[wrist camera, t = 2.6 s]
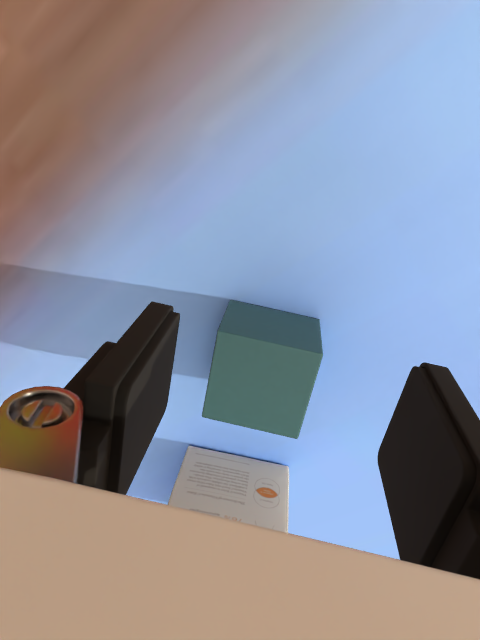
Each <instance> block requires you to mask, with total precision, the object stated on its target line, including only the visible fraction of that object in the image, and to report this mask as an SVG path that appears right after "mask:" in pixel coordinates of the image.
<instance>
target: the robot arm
mask: <svg viewBox="0 0 480 640" xmlns="http://www.w3.org/2000/svg"><path fill="white" fill-rule="evenodd" d="M179 320H180V313H176V312H173V306H170V305H165V304H161V303H156V302H151V303H150V304H149V305H148V306H147V307H146V309H145V310H144V311H143V312H142V313H141V315H140V316H139V317H138V318H137V319H136V320H135V322H134V323H133V324H132V325H131V326H130V328H129V329H128V330H127V331H126V332H125V334H124V335H123V336H122V337H121V338H120V339H119V341H118V342H117V343H113V342H105V343H104V344H103V345H102V346H101V347H100V348H99V350H98V351H97V352H96V353H95V354H94V355H93V356H92V357H91V358H90V360H89V361H88V362H87V363H86V364H85V365H84V366H83V367H82V368H81V370H80V371H79V372H78V373H77V374H76V375H75V376H74V377H73V378H72V380H71V381H70V382H69V383H68V384H67V385H66V386H65V387H64V388H60V387H50V386H43V387H33V388H29V389H25V390H22V391H20V392H17V393H15V394H13V395H11V396H10V397H9V398H8V399H6V400H5V401H4V402H3V404H2V405H1V407H0V640H480V420H479V418H478V416H477V415H476V413H475V412H474V410H473V408H472V407H471V405H470V403H469V402H468V400H467V398H466V397H465V395H464V394H463V392H462V390H461V389H460V387H459V385H458V384H457V382H456V381H455V379H454V377H453V376H452V374H451V372H450V371H449V369H448V368H447V367H442V366H438V365H434V364H429V363H422V364H421V365H420V366H419V367H417V366H414V367H413V368H412V369H411V371H410V374H409V376H408V379H407V381H406V384H405V386H404V389H403V391H402V394H401V396H400V399H399V401H398V403H397V406H396V408H395V411H394V413H393V416H392V418H391V421H390V423H389V426H388V428H387V431H386V433H385V436H384V438H383V441H382V443H381V446H380V448H379V452H378V466H379V470H380V474H381V478H382V483H383V487H384V491H385V496H386V500H387V504H388V509H389V513H390V517H391V521H392V526H393V530H394V534H395V539H396V543H397V547H398V552H399V556H400V560H398V559H394V558H390V557H386V556H381V555H377V554H373V553H369V552H365V551H361V550H357V549H352V548H348V547H344V546H340V545H336V544H332V543H327V542H323V541H319V540H315V539H311V538H306V537H302V536H298V535H294V534H289V533H285V532H281V531H277V530H273V529H268V528H264V527H260V526H256V525H251V524H247V523H243V522H239V521H235V520H230V519H226V518H222V517H218V516H213V515H209V514H205V513H201V512H196V511H192V510H188V509H184V508H179V507H175V506H171V505H166V504H162V503H157V502H153V501H149V500H144V499H140V498H136V497H131V496H127V495H126V493H127V491H128V489H129V487H130V485H131V483H132V481H133V478H134V476H135V474H136V472H137V470H138V468H139V466H140V464H141V461H142V459H143V457H144V455H145V453H146V451H147V449H148V447H149V444H150V442H151V440H152V438H153V436H154V434H155V432H156V430H157V427H158V425H159V423H160V421H161V419H162V417H163V415H164V412H165V410H166V406H167V402H168V396H169V389H170V382H171V375H172V369H173V362H174V355H175V348H176V341H177V334H178V327H179Z"/></svg>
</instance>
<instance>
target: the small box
mask: <svg viewBox="0 0 480 640" xmlns="http://www.w3.org/2000/svg"><path fill="white" fill-rule="evenodd" d="M288 500H289V468H288V466H284V465H279V464H274V463H269V462H265V461H260V460H255V459H251V458H246V457H241V456H236V455H232V454H227V453H222V452H217V451H212V450H208V449H203V448H198V447H193V446H188V448H187V451H186V454H185V456H184V459H183V462H182V465H181V468H180V471H179V473H178V476H177V479H176V482H175V485H174V487H173V490H172V493H171V496H170V499H169V502H168V505H171V506H175V507H179V508H184V509H188V510H192V511H196V512H201V513H205V514H209V515H213V516H218V517H222V518H226V519H230V520H235V521H239V522H243V523H247V524H251V525H256V526H260V527H264V528H268V529H273V530H277V531H281V532H285V533H288Z"/></svg>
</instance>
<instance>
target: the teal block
mask: <svg viewBox="0 0 480 640" xmlns="http://www.w3.org/2000/svg"><path fill="white" fill-rule="evenodd" d="M322 357H323V350H322V340H321V331H320V321H319V319H316V318H311V317H307V316H302V315H298V314H293V313H289V312H284V311H280V310H275V309H271V308H266V307H262V306H257V305H253V304H248V303H244V302H239V301H235V300H230V301H229V304H228V306H227V309H226V311H225V314H224V316H223V319H222V321H221V324H220V326H219V329H218V332H217V337H216V342H215V348H214V353H213V358H212V364H211V369H210V375H209V380H208V385H207V391H206V396H205V401H204V407H203V412H202V417H205V418H209V419H213V420H218V421H222V422H226V423H230V424H235V425H239V426H243V427H248V428H252V429H256V430H261V431H265V432H269V433H274V434H278V435H282V436H287V437H291V438H295V439H297V438H298V436H299V433H300V429H301V426H302V423H303V420H304V416H305V413H306V410H307V406H308V403H309V400H310V396H311V393H312V390H313V386H314V383H315V380H316V377H317V373H318V370H319V367H320V363H321V360H322Z"/></svg>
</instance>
